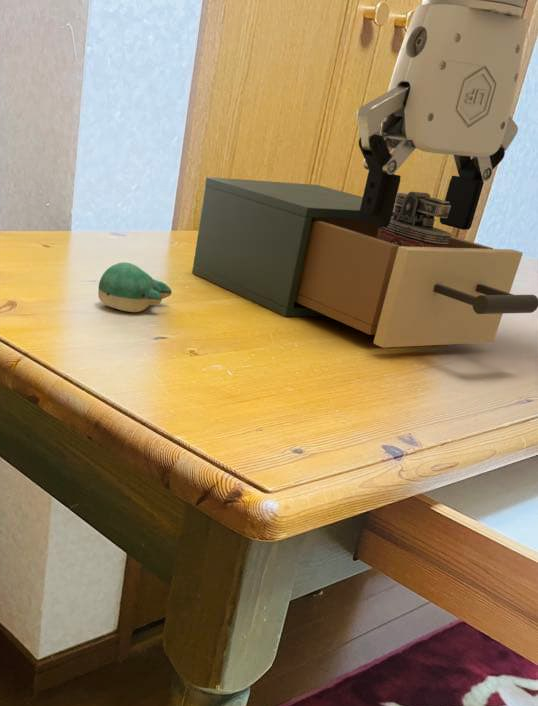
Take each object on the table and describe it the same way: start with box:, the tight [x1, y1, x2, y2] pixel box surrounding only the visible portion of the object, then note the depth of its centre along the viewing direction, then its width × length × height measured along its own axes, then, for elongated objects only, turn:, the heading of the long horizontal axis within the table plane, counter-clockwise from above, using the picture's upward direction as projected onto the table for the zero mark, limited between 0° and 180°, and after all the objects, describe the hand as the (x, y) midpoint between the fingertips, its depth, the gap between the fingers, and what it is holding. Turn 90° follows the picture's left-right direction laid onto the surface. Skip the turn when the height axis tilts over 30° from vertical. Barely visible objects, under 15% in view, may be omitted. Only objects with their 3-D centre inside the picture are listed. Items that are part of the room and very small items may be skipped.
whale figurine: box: [97, 262, 172, 313], centre depth 74 cm, size 6×7×4 cm
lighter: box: [376, 191, 452, 248], centre depth 74 cm, size 8×3×10 cm, turn 22°
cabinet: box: [191, 176, 395, 318], centre depth 85 cm, size 17×15×10 cm
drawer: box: [295, 217, 538, 349], centre depth 74 cm, size 21×13×8 cm, turn 28°
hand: (414, 225), depth 73 cm, fingers open, 9 cm apart
